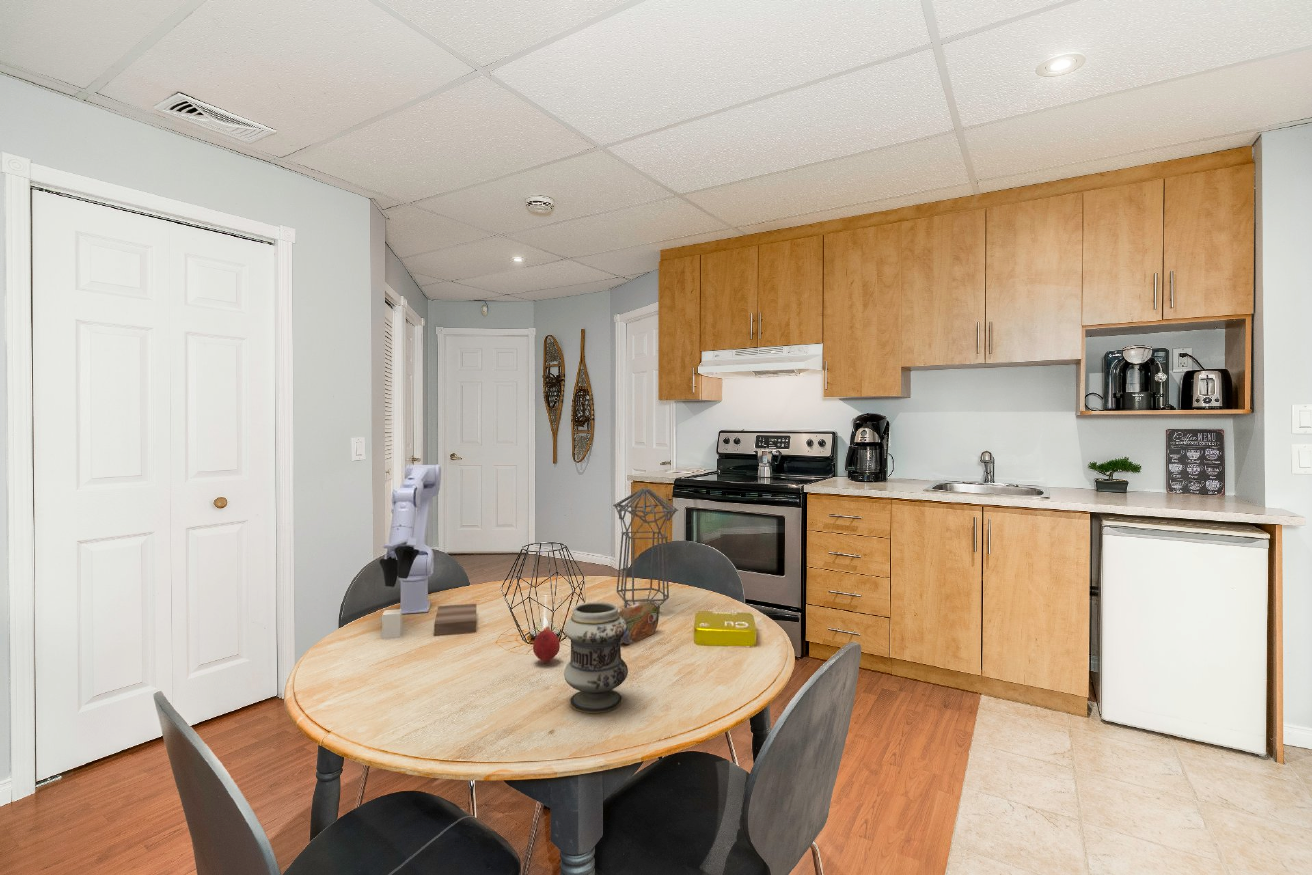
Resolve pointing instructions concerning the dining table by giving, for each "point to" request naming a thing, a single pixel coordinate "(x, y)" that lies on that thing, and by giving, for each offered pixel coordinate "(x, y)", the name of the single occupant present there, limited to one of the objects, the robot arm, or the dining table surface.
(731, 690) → the dining table surface
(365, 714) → the dining table surface
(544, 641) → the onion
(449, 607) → the plinth
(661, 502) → the geometric lantern
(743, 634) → the element tile
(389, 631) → the block
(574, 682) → the apothecary jar
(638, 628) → the tin
